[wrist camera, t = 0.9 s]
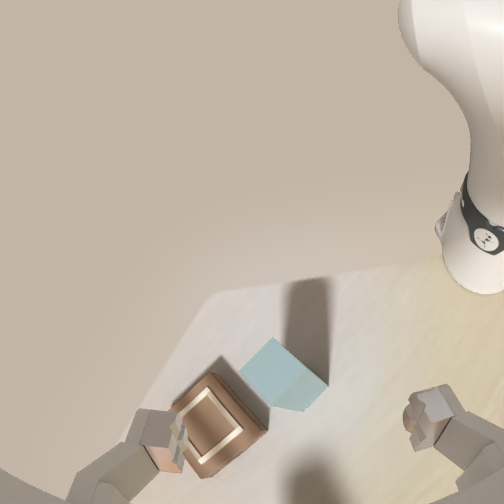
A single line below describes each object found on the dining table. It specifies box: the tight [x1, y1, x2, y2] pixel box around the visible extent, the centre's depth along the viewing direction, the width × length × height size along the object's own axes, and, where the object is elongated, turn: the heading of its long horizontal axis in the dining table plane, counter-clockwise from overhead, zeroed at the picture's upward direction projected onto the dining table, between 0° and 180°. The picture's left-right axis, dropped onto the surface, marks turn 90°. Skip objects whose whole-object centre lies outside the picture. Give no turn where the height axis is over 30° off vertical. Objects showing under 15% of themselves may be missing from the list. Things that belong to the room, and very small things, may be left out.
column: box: [239, 337, 328, 412], centre depth 33 cm, size 5×5×14 cm
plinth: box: [168, 372, 268, 479], centre depth 38 cm, size 12×12×3 cm
